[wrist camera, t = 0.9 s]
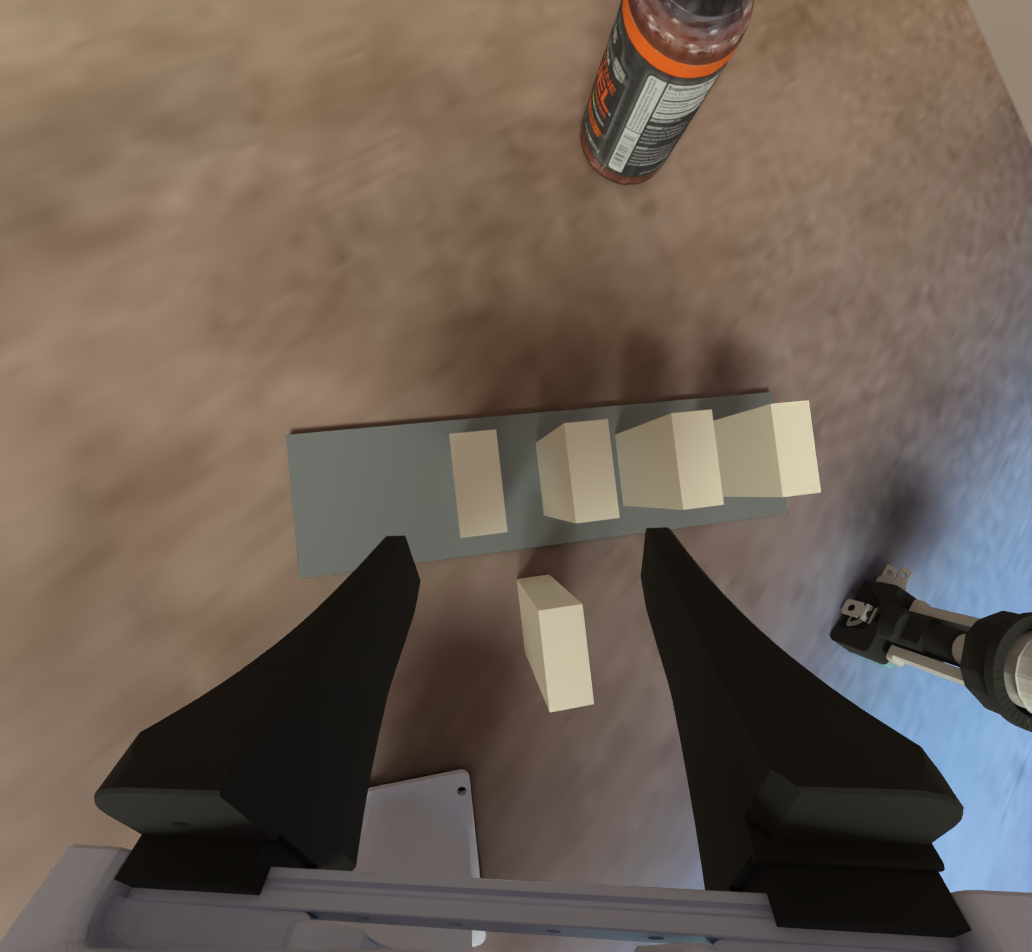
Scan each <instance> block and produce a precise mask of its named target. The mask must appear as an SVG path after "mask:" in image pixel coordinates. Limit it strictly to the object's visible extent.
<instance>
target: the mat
mask: <svg viewBox="0 0 1032 952" xmlns="http://www.w3.org/2000/svg"><path fill="white" fill-rule="evenodd" d="M769 404H773V398H772V392H765V393H754V394H743V395H731V396H720V397H709V398H697V399H686V400H675V401H663V402H652V403H641V404H630V405H618V406H607V407H596V408H584V409H573V410H562V411H550V412H539V413H528V414H516V415H505V416H494V417H482V418H471V419H460V420H449V421H437V422H426V423H415V424H403V425H392V426H381V427H369V428H358V429H347V430H335V431H324V432H313V433H301V434H290V435H286V441H287V451H288V462H289V472H290V482H291V492H292V503H293V513H294V523H295V534H296V544H297V554H298V565H299V575H300V579H301V578H308V577H316V576H323V575H331V574H338V573H346V572H353V571H354V570H355V569H356V568H357V567H358V566H359V565H360V564H361V563H362V562H363V561H364V560H365V559H366V557H367V556H368V555H369V554H370V553H371V552H372V551H373V550H374V549H375V548H376V547H377V546H378V544H379V543H380V542H381V541H382V540H383V539H384V538H385V537H386V536H404V535H405V536H406V539H407V542H408V545H409V548H410V551H411V554H412V557H413V560H414V563H421V562H428V561H436V560H443V559H451V558H458V557H466V556H473V555H481V554H488V553H496V552H504V551H511V550H519V549H526V548H534V547H541V546H549V545H556V544H564V543H571V542H579V541H586V540H594V539H601V538H609V537H616V536H624V535H631V534H639V533H646V528H660V527H668V528H669V529H676V528H684V527H692V526H699V525H707V524H714V523H722V522H729V521H737V520H744V519H752V518H759V517H767V516H774V515H782V514H788V512H787V504H786V497H723V501H724V505H718V506H710V507H702V508H694V509H686V510H678V509H663V508H648V507H633V506H623V499H622V491H621V482H620V474H619V466H618V457H617V449H616V441H615V435H616V434H619V433H621V432H624V431H626V430H629V429H631V428H634V427H637V426H639V425H642V424H644V423H647V422H650V421H652V420H655V419H657V418H660V417H663V416H665V415H668V414H670V413H678V412H689V411H700V410H711V409H712V415H713V421H714V420H717V419H721V418H724V417H728V416H731V415H735V414H738V413H741V412H745V411H748V410H752V409H755V408H759V407H762V406H765V405H769ZM603 419H608V424H609V432H610V440H611V449H612V457H613V466H614V474H615V482H616V491H617V499H618V507H619V516H620V518H615V519H607V520H599V521H591V522H584V523H572V522H568V521H564V520H560V519H556V518H552V517H547V516H544V512H543V503H542V495H541V486H540V477H539V468H538V460H537V451H536V442H537V441H539V440H540V439H542V438H543V437H545V436H546V435H548V434H549V433H550V432H552V431H553V430H555V429H556V428H558V427H559V426H561V425H562V424H564V423H571V422H581V421H592V420H603ZM495 429H496V433H497V442H498V450H499V459H500V468H501V477H502V486H503V495H504V504H505V513H506V522H507V531H508V532H505V533H497V534H489V535H481V536H473V537H465V538H460V531H459V521H458V512H457V503H456V494H455V484H454V475H453V466H452V457H451V447H450V438H449V434H452V433H463V432H473V431H484V430H495Z"/></svg>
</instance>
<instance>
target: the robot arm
mask: <svg viewBox="0 0 1032 952" xmlns="http://www.w3.org/2000/svg"><path fill="white" fill-rule="evenodd" d="M641 580H642V586H643V592H644V598H645V604H646V609H647V613H648V616H649V620H650V623H651V627H652V630H653V633H654V637H655V640H656V643H657V647H658V650H659V654H660V657H661V660H662V664H663V667H664V670H665V674H666V677H667V680H668V684H669V688H670V692H671V696H672V700H673V705H674V710H675V715H676V720H677V725H678V730H679V735H680V741H681V746H682V752H683V757H684V762H685V768H686V773H687V779H688V785H689V791H690V797H691V802H692V808H693V814H694V820H695V826H696V833H697V839H698V846H699V852H700V858H701V865H702V871H703V878H704V885H705V890H692V889H674V888H655V887H637V886H618V885H600V884H581V883H562V882H544V881H525V880H507V879H488V878H480V870H479V860H478V851H477V842H476V832H475V823H474V814H473V804H472V795H471V786H470V776H469V773H468V772H467V771H466V770H463V769H459V770H454V771H449V772H445V773H440V774H435V775H430V776H425V777H420V778H415V779H410V780H405V781H400V782H395V783H390V784H385V785H380V786H375V787H370V788H369V782H370V777H371V771H372V766H373V761H374V756H375V751H376V746H377V741H378V736H379V731H380V727H381V722H382V718H383V713H384V709H385V705H386V700H387V696H388V693H389V689H390V686H391V682H392V679H393V676H394V673H395V670H396V667H397V664H398V661H399V658H400V655H401V652H402V649H403V646H404V643H405V640H406V637H407V634H408V631H409V628H410V624H411V621H412V618H413V615H414V612H415V607H416V602H417V597H418V591H419V586H420V578H419V575H418V572H417V569H416V566H415V563H414V560H413V557H412V554H411V551H410V548H409V545H408V542H407V539H406V536H405V535H404V536H386V537H385V538H384V539H383V540H382V541H381V542H380V543H379V544H378V546H377V547H376V548H375V549H374V550H373V551H372V552H371V553H370V554H369V555H368V556H367V557H366V559H365V560H364V561H363V562H362V563H361V564H360V565H359V566H358V567H357V568H356V569H355V570H354V572H353V573H352V574H351V575H350V576H349V577H348V578H347V579H346V580H345V581H344V582H343V583H342V584H341V585H340V586H339V587H338V588H337V589H336V590H335V591H334V592H333V593H332V594H331V595H330V596H329V597H328V598H327V599H326V600H325V601H324V602H323V603H322V604H321V605H320V606H319V607H318V608H317V609H316V610H315V611H314V612H313V613H312V614H310V615H309V616H308V617H307V618H306V619H305V620H304V621H303V622H302V623H300V624H299V625H298V626H297V627H296V628H295V629H293V630H292V631H291V632H290V633H289V634H287V635H286V636H285V637H284V638H283V639H281V640H280V641H279V642H278V643H276V644H275V645H274V646H273V647H271V648H270V649H269V650H267V651H266V652H265V653H263V654H262V655H260V656H259V657H258V658H256V659H255V660H254V661H252V662H251V663H250V664H248V665H247V666H246V667H244V668H243V669H242V670H240V671H239V672H237V673H236V674H234V675H233V676H232V677H230V678H229V679H227V680H226V681H224V682H223V683H221V684H220V685H218V686H217V687H215V688H214V689H212V690H210V691H209V692H207V693H206V694H204V695H203V696H201V697H200V698H198V699H196V700H195V701H193V702H192V703H190V704H188V705H187V706H185V707H183V708H181V709H180V710H178V711H176V712H175V713H173V714H171V715H169V716H168V717H166V718H164V719H163V720H161V721H159V722H158V723H156V724H154V725H152V726H151V727H149V728H147V729H145V730H143V731H142V732H140V733H139V735H138V736H137V737H136V738H135V740H134V741H133V743H132V744H131V745H130V747H129V748H128V749H127V751H126V752H125V753H124V755H123V756H122V757H121V759H120V760H119V762H118V763H117V764H116V766H115V767H114V768H113V770H112V771H111V772H110V774H109V775H108V776H107V778H106V779H105V781H104V782H103V783H102V785H101V786H100V787H99V789H98V790H97V791H96V793H95V796H94V800H95V804H96V806H97V807H98V808H99V809H100V810H101V811H103V812H104V813H106V814H107V815H109V816H110V817H112V818H114V819H116V820H118V821H119V822H121V823H123V824H125V825H126V826H128V827H130V828H132V829H133V830H135V831H137V832H139V833H140V834H142V835H141V837H140V838H139V840H138V842H137V843H136V845H135V846H134V848H133V850H129V849H125V848H121V847H113V846H95V845H72V846H70V847H68V848H67V850H66V851H65V853H64V854H63V855H62V857H61V858H60V860H59V861H58V862H57V864H56V865H55V867H54V868H53V869H52V871H51V872H50V874H49V875H48V876H47V878H46V879H45V880H44V882H43V883H42V885H41V886H40V887H39V889H38V890H37V892H36V893H35V894H34V896H33V897H32V899H31V900H30V901H29V903H28V904H27V906H26V907H25V908H24V910H23V911H22V913H21V914H20V915H19V917H18V918H17V920H16V921H15V922H14V924H13V925H12V926H11V928H10V929H9V931H8V932H7V933H6V935H5V936H4V938H3V939H2V940H1V942H0V952H472V947H474V946H478V945H480V944H482V943H483V942H484V940H485V938H486V931H491V932H506V933H521V934H536V935H551V936H566V937H581V938H595V939H610V940H625V941H640V942H655V943H670V944H660V945H647V946H637V948H636V950H635V951H634V952H1032V893H1023V892H1004V891H984V890H964V891H957V892H953V893H950V891H949V890H948V888H947V886H946V884H945V883H944V881H943V879H942V877H941V876H940V874H939V872H942V871H943V870H945V868H944V863H943V862H942V860H941V858H940V857H939V855H938V853H937V851H936V850H935V848H934V846H933V845H932V842H934V841H935V840H936V839H938V838H939V837H941V836H942V835H943V834H945V833H946V832H948V831H949V830H950V829H952V828H953V827H955V826H956V825H957V824H958V823H959V822H960V821H961V819H962V815H963V808H964V807H963V806H962V804H961V803H960V801H959V800H958V798H957V797H956V795H955V794H954V792H953V791H952V789H951V788H950V786H949V785H948V783H947V781H946V780H945V779H944V777H943V776H942V774H941V773H940V771H939V770H938V768H937V767H936V766H935V765H934V763H933V762H932V761H931V759H930V758H929V757H928V756H927V754H926V753H925V752H924V750H923V749H922V747H920V746H919V745H917V744H916V743H914V742H912V741H911V740H909V739H908V738H906V737H905V736H903V735H901V734H900V733H898V732H897V731H895V730H894V729H892V728H890V727H889V726H887V725H886V724H884V723H883V722H881V721H879V720H878V719H876V718H875V717H873V716H872V715H870V714H868V713H867V712H865V711H864V710H862V709H861V708H859V707H858V706H857V705H855V704H854V703H852V702H851V701H849V700H848V699H847V698H845V697H844V696H842V695H841V694H839V693H838V692H837V691H835V690H834V689H832V688H831V687H829V686H828V685H827V684H825V683H824V682H823V681H822V680H820V679H819V678H818V677H816V676H815V675H814V674H813V673H811V672H810V671H809V670H807V669H806V668H805V667H803V666H802V665H801V664H800V663H798V662H797V661H796V660H794V659H793V658H792V657H791V656H789V655H788V654H787V653H786V652H785V651H783V650H782V649H781V648H780V647H779V646H778V645H776V644H775V643H774V642H773V641H772V640H771V639H769V638H768V637H767V636H766V635H765V634H764V633H763V632H762V631H761V630H759V629H758V628H757V627H756V626H755V625H754V624H753V623H752V622H751V621H750V620H749V619H748V618H747V617H746V616H745V615H744V614H743V613H742V612H741V611H740V610H739V609H738V608H737V607H736V606H735V605H734V604H733V603H732V602H731V601H730V600H729V599H728V598H727V597H726V596H725V595H724V594H723V593H722V592H721V591H720V590H719V588H718V587H717V586H716V585H715V584H714V583H713V582H712V581H711V579H710V578H709V577H708V576H707V575H706V574H705V573H704V571H703V570H702V569H701V568H700V567H699V565H698V564H697V563H696V562H695V561H694V559H693V558H692V557H691V556H690V554H689V553H688V552H687V551H686V549H685V548H684V547H683V545H682V544H681V543H680V542H679V540H678V539H677V537H676V536H675V535H674V533H673V532H672V531H671V530H670V529H669V528H668V527H660V528H646V533H645V542H644V552H643V561H642V571H641ZM459 787H465V788H466V789H465V790H464V791H459V790H458V788H459Z"/></svg>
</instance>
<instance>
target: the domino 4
mask: <svg viewBox="0 0 1032 952" xmlns="http://www.w3.org/2000/svg"><path fill="white" fill-rule="evenodd" d="M615 441H616V449H617V457H618V466H619V474H620V482H621V491H622V499H623V506H633V507H648V508H663V509H678V510H686V509H694V508H702V507H710V506H718V505H724V501H723V493H722V486H721V478H720V470H719V462H718V454H717V446H716V438H715V430H714V423H713V415H712V409H711V410H700V411H689V412H678V413H670V414H668V415H665V416H663V417H660V418H657V419H655V420H652V421H650V422H647V423H644V424H642V425H639V426H637V427H634V428H631V429H629V430H626V431H624V432H621V433H619V434H616V435H615Z"/></svg>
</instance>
